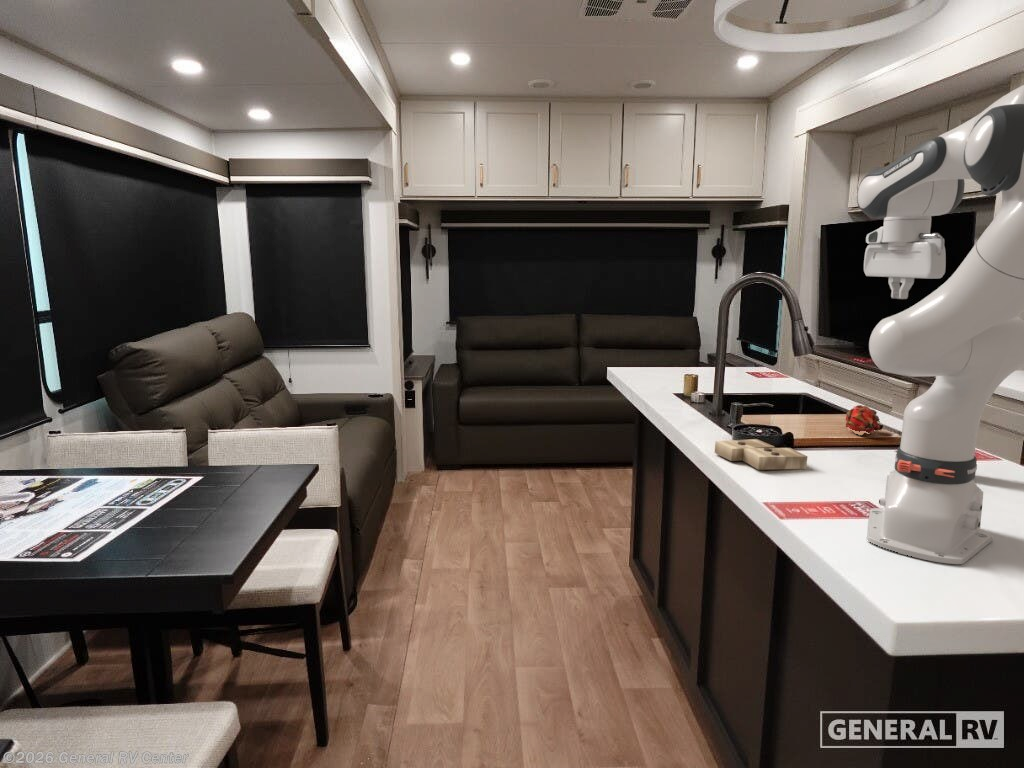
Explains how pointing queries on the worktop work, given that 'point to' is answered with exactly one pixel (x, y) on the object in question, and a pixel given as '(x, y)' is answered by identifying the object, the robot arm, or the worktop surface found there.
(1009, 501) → the worktop surface
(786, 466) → the tile two
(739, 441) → the tile one
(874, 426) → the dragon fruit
